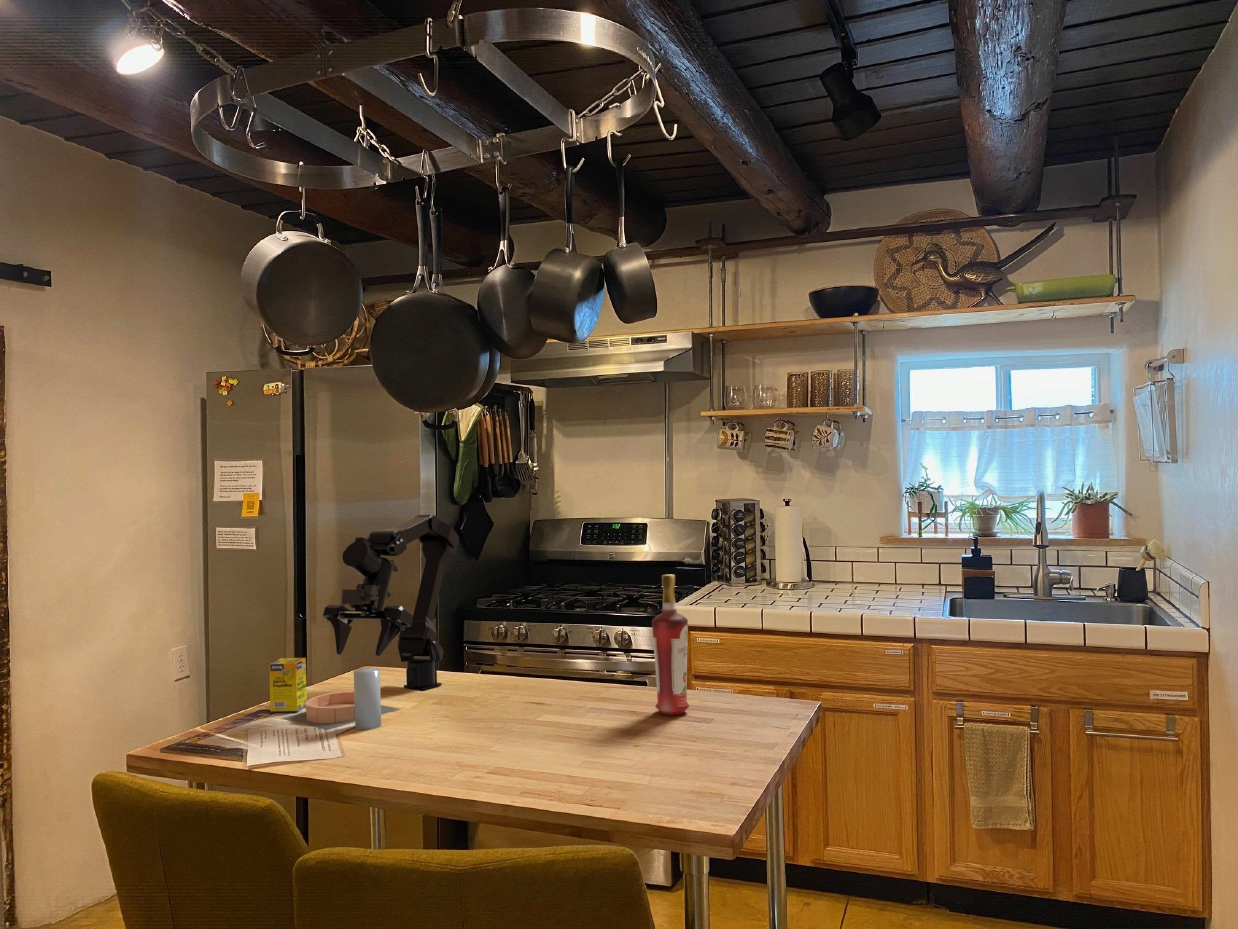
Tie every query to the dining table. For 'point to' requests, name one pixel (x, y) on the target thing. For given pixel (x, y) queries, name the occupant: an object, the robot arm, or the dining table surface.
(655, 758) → the dining table surface
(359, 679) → the cylinder
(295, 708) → the supplement box
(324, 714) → the dish
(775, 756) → the dining table surface
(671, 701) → the liquor
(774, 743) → the dining table surface
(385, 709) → the mat
